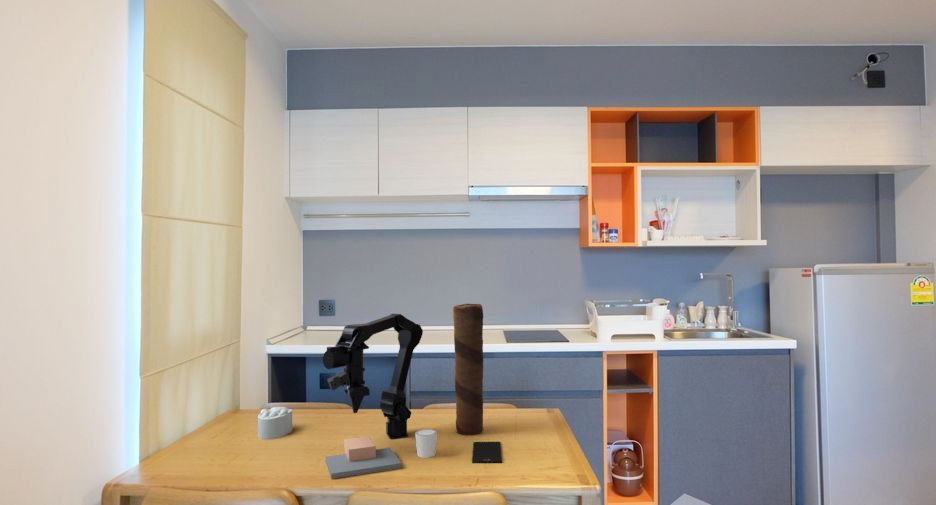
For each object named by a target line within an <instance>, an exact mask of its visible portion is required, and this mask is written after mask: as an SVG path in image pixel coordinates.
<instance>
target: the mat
mask: <svg viewBox="0 0 936 505" xmlns="http://www.w3.org/2000/svg"><path fill="white" fill-rule="evenodd" d="M325 464H326V467H327V470H328V473H329V475H330V478H331V480H333V479H334V480H335V479H341V478H346V477H347V478H348V477H354V476H359V475H367V474H372V473H378V472H379V473H380V472H386V471H391V470H399V469H402V462H401V461H400V459H399V457H397V455H396V453H395V452H394V451H393V449H392V448H391V447H385V448H378V449H377V448H376V458H370V459H363V460H356V461H349V460H348V458H347V456H346V454H345V453H343V454H342V453H341V454H334V455H333V454H332V455H327V456H325Z"/></svg>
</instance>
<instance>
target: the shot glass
mask: <svg viewBox="0 0 936 505" xmlns="http://www.w3.org/2000/svg"><path fill="white" fill-rule="evenodd" d="M414 436H415V444H416V454H417V456H418V458H423V459H427V458H432V457H435V456H436V453H437V439H438V438H437V436H438V431H437V430H435V429H430V428H429V429H428V428H425V429H423V428H422V429H419V430H417V431H415V434H414Z"/></svg>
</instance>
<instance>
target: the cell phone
mask: <svg viewBox="0 0 936 505" xmlns="http://www.w3.org/2000/svg"><path fill="white" fill-rule="evenodd" d="M501 446H502V445H501V441H473V446H472V459H471V462H472V464H502V463H503V461H502V460H503V458H502V457H503V456H502V447H501Z"/></svg>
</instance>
